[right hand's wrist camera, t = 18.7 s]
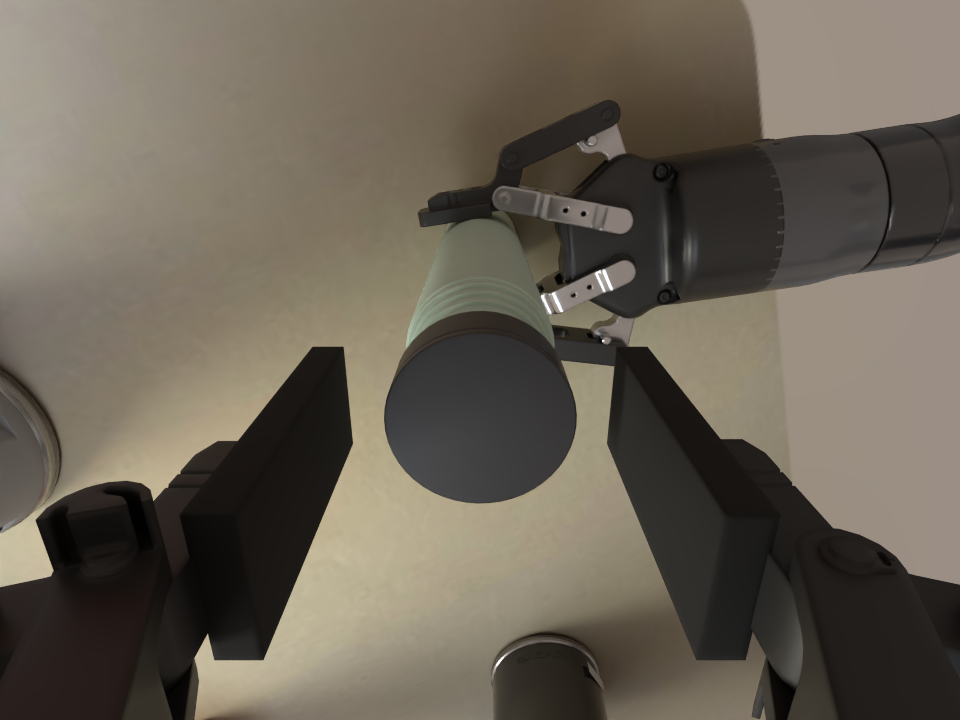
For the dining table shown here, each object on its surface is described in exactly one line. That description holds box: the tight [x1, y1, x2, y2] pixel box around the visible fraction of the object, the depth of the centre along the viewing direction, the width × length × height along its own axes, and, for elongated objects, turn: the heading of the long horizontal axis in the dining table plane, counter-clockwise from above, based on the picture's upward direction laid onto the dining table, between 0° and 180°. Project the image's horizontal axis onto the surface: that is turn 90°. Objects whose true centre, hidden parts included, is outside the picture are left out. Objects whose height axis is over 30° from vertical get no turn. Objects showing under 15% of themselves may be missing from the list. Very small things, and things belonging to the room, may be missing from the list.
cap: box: [384, 311, 577, 503], centre depth 14 cm, size 4×4×2 cm
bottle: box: [406, 211, 555, 349], centre depth 24 cm, size 5×5×24 cm
